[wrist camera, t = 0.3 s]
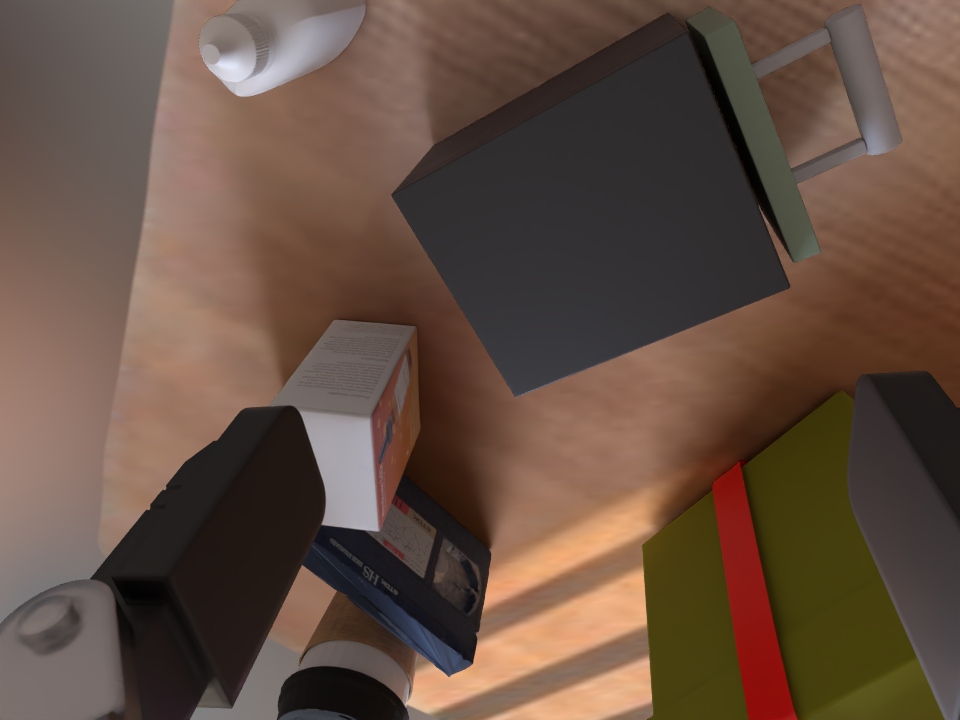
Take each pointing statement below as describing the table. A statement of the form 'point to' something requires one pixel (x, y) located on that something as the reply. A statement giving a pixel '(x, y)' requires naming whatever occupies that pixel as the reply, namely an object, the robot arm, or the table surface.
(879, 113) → the drawer
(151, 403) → the table surface
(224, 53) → the eye dropper bottle
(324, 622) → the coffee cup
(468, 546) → the vhs cassette tape
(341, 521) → the small box
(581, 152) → the cabinet
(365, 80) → the table surface
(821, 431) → the gift box
